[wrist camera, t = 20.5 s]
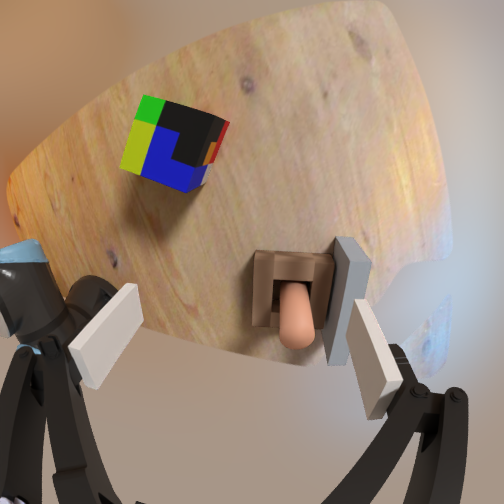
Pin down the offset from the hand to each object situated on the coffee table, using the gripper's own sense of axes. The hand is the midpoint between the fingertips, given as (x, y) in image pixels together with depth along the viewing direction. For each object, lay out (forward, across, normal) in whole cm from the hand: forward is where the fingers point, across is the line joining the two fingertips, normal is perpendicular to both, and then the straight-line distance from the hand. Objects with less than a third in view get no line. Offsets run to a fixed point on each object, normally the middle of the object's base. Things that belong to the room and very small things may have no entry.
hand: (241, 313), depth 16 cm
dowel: (+29, +5, -13) cm, 32 cm away
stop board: (+29, +13, -13) cm, 34 cm away
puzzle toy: (+29, -12, +10) cm, 33 cm away
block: (+28, +5, -13) cm, 32 cm away
